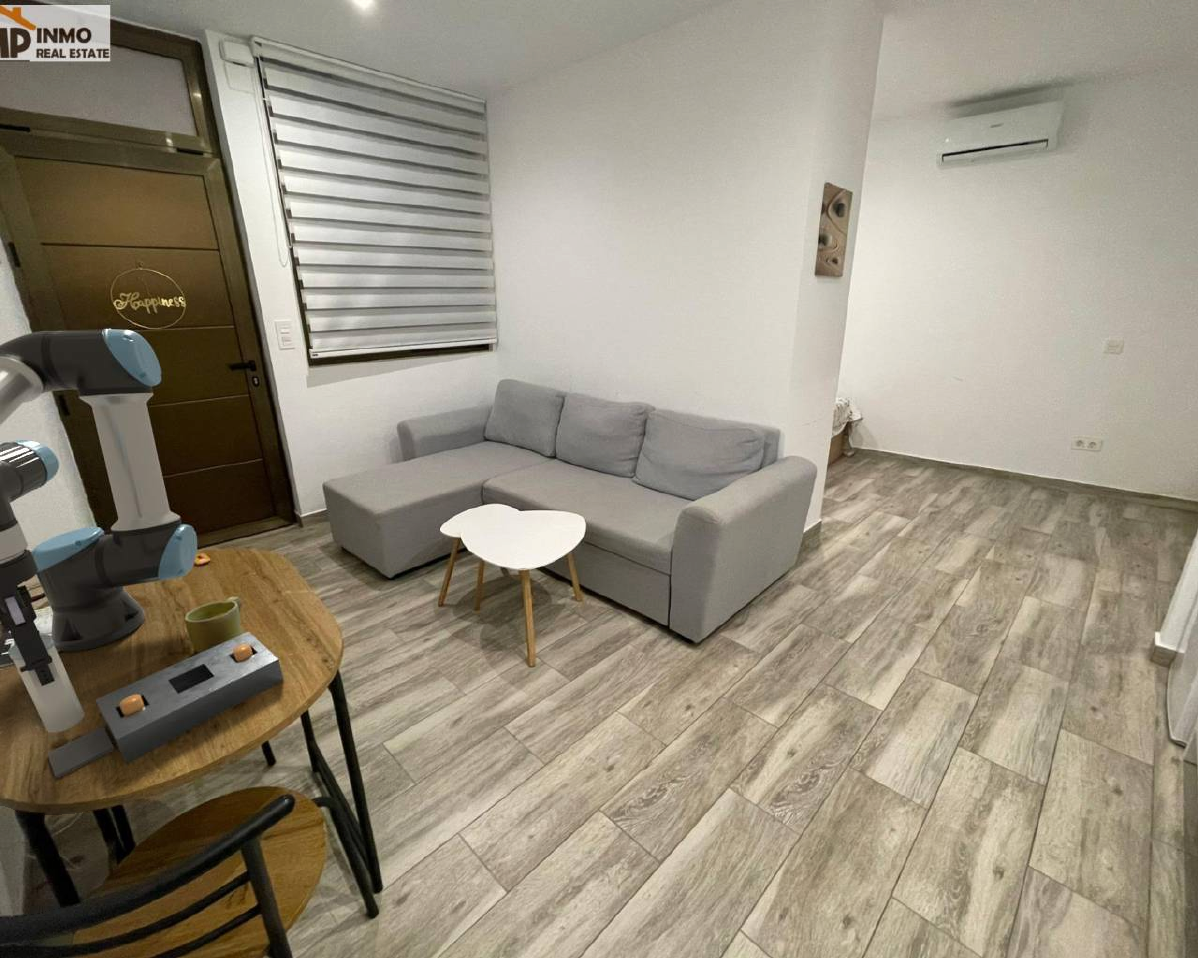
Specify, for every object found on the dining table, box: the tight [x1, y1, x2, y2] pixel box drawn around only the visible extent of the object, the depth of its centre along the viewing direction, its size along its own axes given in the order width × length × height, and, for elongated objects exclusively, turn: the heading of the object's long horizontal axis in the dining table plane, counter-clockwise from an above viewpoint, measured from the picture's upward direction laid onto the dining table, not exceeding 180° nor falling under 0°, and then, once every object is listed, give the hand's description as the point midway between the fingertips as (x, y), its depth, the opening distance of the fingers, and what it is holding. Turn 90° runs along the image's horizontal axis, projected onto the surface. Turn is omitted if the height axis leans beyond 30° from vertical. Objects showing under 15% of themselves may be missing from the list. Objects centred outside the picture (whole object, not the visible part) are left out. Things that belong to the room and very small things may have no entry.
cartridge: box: [7, 634, 85, 734], centre depth 81 cm, size 5×5×15 cm
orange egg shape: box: [233, 644, 253, 663], centre depth 103 cm, size 3×3×6 cm
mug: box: [184, 596, 244, 654], centre depth 113 cm, size 12×10×10 cm
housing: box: [95, 631, 284, 764], centre depth 97 cm, size 14×24×5 cm, turn 142°
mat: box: [47, 726, 116, 780], centre depth 86 cm, size 7×7×1 cm
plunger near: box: [119, 695, 145, 717], centre depth 90 cm, size 3×3×6 cm
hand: (51, 689), depth 82 cm, fingers closed on cartridge, 4 cm apart
